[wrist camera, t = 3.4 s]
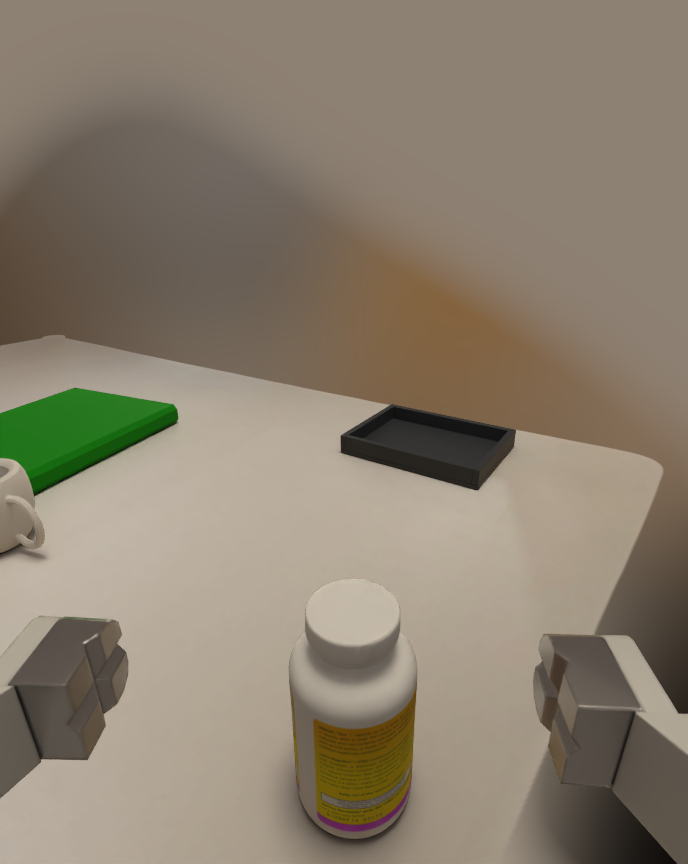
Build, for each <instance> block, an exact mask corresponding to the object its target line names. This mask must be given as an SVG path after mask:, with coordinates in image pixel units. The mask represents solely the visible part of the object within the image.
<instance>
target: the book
mask: <svg viewBox="0 0 688 864" xmlns="http://www.w3.org/2000/svg"><path fill="white" fill-rule="evenodd" d="M177 420H178V413H177V409H176V407H175V406H174V404H168V403H162V402H156V401H150V400H144V399H138V398H132V397H126V396H120V395H115V394H109V393H103V392H97V391H91V390H85V389H79V388H73V389H70V390H67V391H64V392H61V393H58V394H55V395H52V396H49V397H47V398H44V399H41V400H38V401H35V402H32V403H29V404H26V405H23V406H20V407H17V408H14V409H12V410H9V411H6V412H3V413H0V458H4V459H12V460H15V461H16V462H18V463H19V464H20V465H21V466H22V467H23V468H24V470H25V472H26V474H27V476H28V478H29V480H30V483H31V486H32V490H33V494H35V493H37V492H39V491H41V490H43V489H45V488H47V487H49V486H51V485H53V484H55V483H57V482H59V481H61V480H63V479H65V478H67V477H69V476H71V475H73V474H75V473H77V472H79V471H81V470H83V469H85V468H87V467H89V466H91V465H93V464H94V463H96V462H98V461H100V460H102V459H104V458H106V457H108V456H110V455H112V454H114V453H116V452H118V451H120V450H122V449H124V448H126V447H128V446H130V445H132V444H134V443H136V442H138V441H140V440H142V439H144V438H146V437H148V436H150V435H152V434H154V433H156V432H158V431H160V430H162V429H164V428H166V427H168V426H169V425H171V424H173V423H175V422H177Z"/></svg>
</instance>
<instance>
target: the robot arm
mask: <svg viewBox="0 0 688 864" xmlns="http://www.w3.org/2000/svg"><path fill="white" fill-rule="evenodd" d="M121 636H122V633H121V629H120V626H119V622H118V621H115V620H111V619H94V618H78V617H52V616H39V617H37V618H35V619H33V620H31V622H30V623H29V624H28V625H27V626H26V627H25V629H24V630H23V631H22V632H21V633H20V634H19V636H18V637H17V638H16V639H15V640H14V641H13V643H12V644H11V645H10V646H9V647H8V649H7V650H6V651H5V652H4V653H3V654H2V656H1V657H0V798H1V797H2V796H3V795H4V794H6V793H7V792H8V791H9V790H10V789H11V788H12V787H14V786H15V785H16V784H17V783H18V782H19V781H20V780H21V779H23V778H24V777H25V776H26V775H27V774H28V773H29V772H30V771H32V770H33V769H34V768H35V767H36V766H37V765H38V764H39V763H41V759H61V760H88V758H89V756H90V754H91V752H92V751H93V749H94V747H95V745H96V743H97V741H98V739H99V737H100V736H101V734H102V732H103V730H104V728H105V726H106V724H105V720H104V715H103V714H105V713H106V712H107V711H109V710H110V709H111V708H112V707H114V706H115V705H116V704H117V703H118V701H119V699H120V697H121V695H122V693H123V691H124V688H125V684H126V680H127V677H128V658H127V654H126V652H125V651H124V650H123V649H122V648H121V647H120V646H119V645H118V644H117V643H118V641H119V639H120V637H121ZM539 652H540V655H541V658H542V662H541V663H540V664H539V665H538V666H536V667H535V672H534V679H533V687H534V699H535V704H536V709H537V713H538V716H539V719H540V722H541V723H542V724H543V725H544V726H545V727H546V728H547V729H548V730H549V731H550V732H551V734H550V739H549V744H548V747H549V750H550V753H551V756H552V759H553V762H554V765H555V768H556V771H557V774H558V777H559V780H560V783H561V784H574V785H586V786H599V787H612V791H613V792H614V793H615V794H616V795H617V797H619V799H620V800H621V801H622V802H623V803H624V804H625V806H626V807H627V808H628V809H629V810H630V811H631V812H632V813H633V814H634V816H635V817H636V818H637V819H638V820H639V821H640V822H641V823H642V824H643V826H644V827H645V828H646V829H647V830H648V831H649V832H650V833H651V835H652V836H653V837H654V838H655V839H656V840H657V841H658V842H659V843H660V845H661V846H662V847H663V848H664V849H665V850H666V851H667V852H668V854H669V855H670V856H671V857H672V858H673V859H674V860H675V861H676V863H677V864H688V714H678V712H677V711H676V709H675V707H674V706H673V704H672V703H671V701H670V699H669V698H668V696H667V694H666V693H665V691H664V690H663V688H662V686H661V685H660V683H659V681H658V680H657V678H656V677H655V675H654V673H653V672H652V670H651V668H650V667H649V665H648V664H647V662H646V660H645V659H644V657H643V656H642V654H641V652H640V651H639V649H638V647H637V646H636V644H635V642H634V641H633V640H632V639H631V638H629V636H616V635H599V636H597V635H568V634H543V636H542V638H541V640H540V645H539Z"/></svg>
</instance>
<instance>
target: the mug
mask: <svg viewBox="0 0 688 864" xmlns="http://www.w3.org/2000/svg"><path fill="white" fill-rule="evenodd" d="M33 526H34V529H35V533H36V541H31V540H29V539H28V538H26V537H27V536H28V534H29V533H30V531H31V529H32V527H33ZM44 539H45V535H44V529H43V526H42V523H41V520H40V518H39V517H38V515H37V513H36V511H35V500H34V494H33V490H32V486H31V483H30V480H29V478H28V476H27V474H26V472H25V470H24V468H23V467H22V466H21V465H20V464H19V463H18V462H16V461H15V460H12V459H4V458H0V553H2V552H5V551H7V550H9V549H12V548H13V547H15V546H17V545H18V544H20V543H21V544H22V545H24V546H26V547H27V548H31V549H36V548H39V547H41V546H42V544H43V543H44Z"/></svg>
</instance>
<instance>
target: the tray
mask: <svg viewBox="0 0 688 864" xmlns="http://www.w3.org/2000/svg"><path fill="white" fill-rule="evenodd" d="M515 433H516V430H514V429H509V428H504V427H499V426H494V425H490V424H485V423H480V422H475V421H470V420H465V419H460V418H456V417H451V416H446V415H441V414H436V413H431V412H426V411H422V410H417V409H412V408H406V407H402V406H397V405H390V406H388V407H387V408H385V409H383V410H382V411H380V412H378V413H377V414H375V415H373V416H372V417H370V418H369V419H367V420H365V421H364V422H362V423H360V424H359V425H357V426H355V427H354V428H352V429H351V430H349V431H347V432H346V433H344V434H342V435H341V453H345V454H348V455H352V456H356V457H359V458H363V459H366V460H370V461H374V462H377V463H381V464H385V465H388V466H392V467H395V468H399V469H403V470H406V471H410V472H414V473H417V474H421V475H424V476H428V477H432V478H435V479H439V480H443V481H446V482H450V483H454V484H457V485H461V486H464V487H468V488H472V489H475V490H478V489H479V488H480V486H481V485H482V484H483V483H484V482H485V480H486V479H487V478H488V477H489V476H490V474H491V473H492V472H493V471H494V470H495V468H496V467H497V466H498V465H499V464H500V462H501V461H502V460H503V459H504V458H505V456H506V455H507V454H508V453H509V452H510V450H511V449H512V448H513V447H514V441H515Z"/></svg>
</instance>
